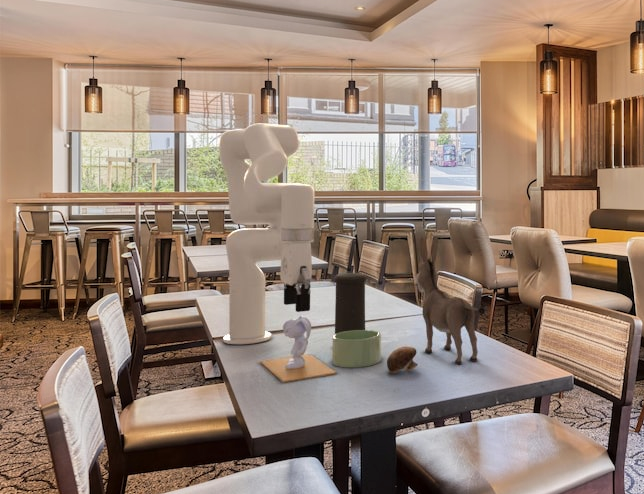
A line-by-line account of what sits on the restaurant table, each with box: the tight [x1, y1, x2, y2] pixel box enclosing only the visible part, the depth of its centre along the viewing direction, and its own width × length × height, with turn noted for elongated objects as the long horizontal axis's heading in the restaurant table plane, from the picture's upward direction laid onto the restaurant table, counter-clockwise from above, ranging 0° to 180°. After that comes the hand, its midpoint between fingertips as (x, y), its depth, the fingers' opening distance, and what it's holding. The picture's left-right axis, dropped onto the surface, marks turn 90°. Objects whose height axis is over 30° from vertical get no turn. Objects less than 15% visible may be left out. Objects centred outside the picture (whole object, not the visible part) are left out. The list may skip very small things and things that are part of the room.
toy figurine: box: [282, 315, 312, 369], centre depth 148 cm, size 7×6×12 cm
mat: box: [260, 353, 337, 384], centre depth 148 cm, size 20×12×1 cm, turn 34°
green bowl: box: [332, 329, 382, 368], centre depth 154 cm, size 12×12×6 cm
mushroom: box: [386, 346, 419, 374], centre depth 144 cm, size 8×8×6 cm
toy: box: [414, 235, 486, 365], centre depth 160 cm, size 8×34×30 cm, turn 36°
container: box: [333, 272, 367, 334], centre depth 169 cm, size 9×9×20 cm
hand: (296, 307), depth 148 cm, fingers open, 9 cm apart
